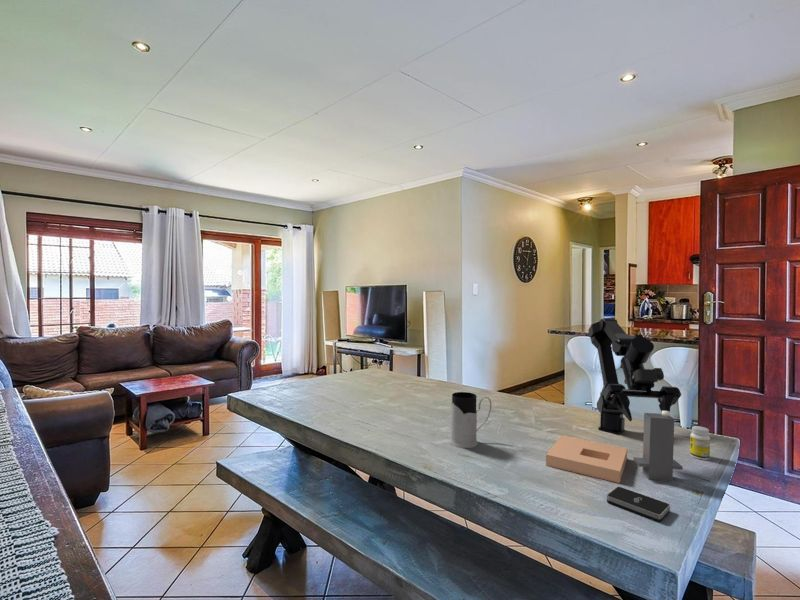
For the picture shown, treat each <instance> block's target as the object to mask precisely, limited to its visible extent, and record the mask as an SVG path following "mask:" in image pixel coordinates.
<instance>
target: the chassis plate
mask: <svg viewBox="0 0 800 600" xmlns="http://www.w3.org/2000/svg"><path fill="white" fill-rule="evenodd" d="M627 461H628V448H627V447H623V446H617V445H612V444H608V443H607V444H606V443H603V442H597V441H593V440H587V439H582V438H577V437H572V436H567V435H563V434H562V435H560V437H558V439H557V440H556V441H555V442H554V444H553V445H552V447H551V448H550V449H549V451H548V452H547V453H546V455H545V466H546V467H547V466H548V467H551V468H555V469H556V468H557V469H559V470H563V471H568V472H571V473H572V472H573V473H576V474H580V475H585V476H589V477H593V478H595V479H596V478H597V479H600V480H606V481H609V482H613V483H616V484H617V483H618V484H620V483H621V480H622V477H623V474H624V471H625V467H626V464H627Z"/></svg>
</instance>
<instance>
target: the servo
mask: <svg viewBox="0 0 800 600" xmlns="http://www.w3.org/2000/svg"><path fill="white" fill-rule="evenodd" d="M674 438H675V418H674V417H672V416H671V411H670V412H669V411H662V413H657V412H656V413H654V412H653V413H652V412H644V413H643V438H642V439H643V441H642V443H643V444H642V457H638V456H637V457H636V456H633V461H634V462H635V463H636V465H637V466H638V467H641V468H642V474H643V475H644V476H645V477H646V478H647V479H648V481H649V480H650V481H665V482H673V474H674V471H673V470H683V468H684V467H683V465H682V464H680V463H679V462H678V461H677V460H676V459H674V440H675V439H674Z"/></svg>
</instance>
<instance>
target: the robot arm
mask: <svg viewBox="0 0 800 600" xmlns="http://www.w3.org/2000/svg"><path fill="white" fill-rule="evenodd" d="M587 335H588V337H589V338H590V342H591V344H592V345H593V346H594V347H595V348H596V349H597V355H598V359H599V365H600V372H601V377H602V383H603V387H602V389H601V391H600V394H599V395H600V396H599V398H598V400H597V402H596V410H597V411H598V413H600V423H599V425H600V426H599V427H598V428H597V429H598V430H600V431H603V432H607V433H612V434H615V435H618V434H621V433H622V432H624V431H625V423H626V422H625V420H626V419H627V420H628V421H629V422H632V420H633V417H632V413H631V410H630V405H631V404H630V403H631V401H630V398H631V397H635V398H643V399H644V398H647V399H657V402H658V403H659V404H658V407H659V410H660V414H662V411H669V412H670V413H671V407H672V406H673V405H675V404H677V402H678V401H679V399H680V397H682V392H681V389H680V388H679V387H677V386H667V385H666V386H665V385H662V387H661V388H660V390H652V389H653V388H655V383H658V382H659V381H662V380H664V379H665V376H664V371H663V368H662V367H654V368H653V369H650V368H648V369H647V368H645V366H644V364H646V363H647V361H648V360H649V358H650V356H651V354H652V353H653V351H654V348H655V345H654V343H653V342H652V341H651V340H649V339H648V338H646V337H644V335H643V334H634V335H631V334H627V333H626V332H625V330H624V329H623V328H622V327H621V326H620V325H619V323H618V320H617V319H615V318H606V317H605V318H601V319H599V321H597V322H594V323H592V324H591V325H590V326H589V328H588V333H587ZM614 355H615V356H617V357H621V359H620V364H619V365H620V369H621V370H622V372H623V375H624V384H626V386H627V389H626V387H625V385H623V384H621V383H619V379H618V373H617V369H616V368H617V367H616V363H615V359H614ZM629 397H630V398H629ZM624 416H625V417H624ZM625 418H626V419H625Z"/></svg>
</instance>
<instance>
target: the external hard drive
mask: <svg viewBox="0 0 800 600" xmlns="http://www.w3.org/2000/svg"><path fill="white" fill-rule="evenodd" d="M606 502H607V504H609V505H611V506H615V507H617V508H620V509H622V510H625V511H627V512H630V513H632V514H635V515H638V516H641V517H643V518H646V519H649V520H651V521H654V522H656V523H661V522H662V521H663V519H664V518H666V516H667V515H669V513H670V512H671V504H670V503H668V502H666V501H663V500H660V499H656V498H654V497H650V496H648V495H646V494H642V493H639V492H637V491H633V490H631V489H627V488H625V487H623V486H616V487H615V488H613V489H612V490H611V491H609V493H607V495H606Z"/></svg>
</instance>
